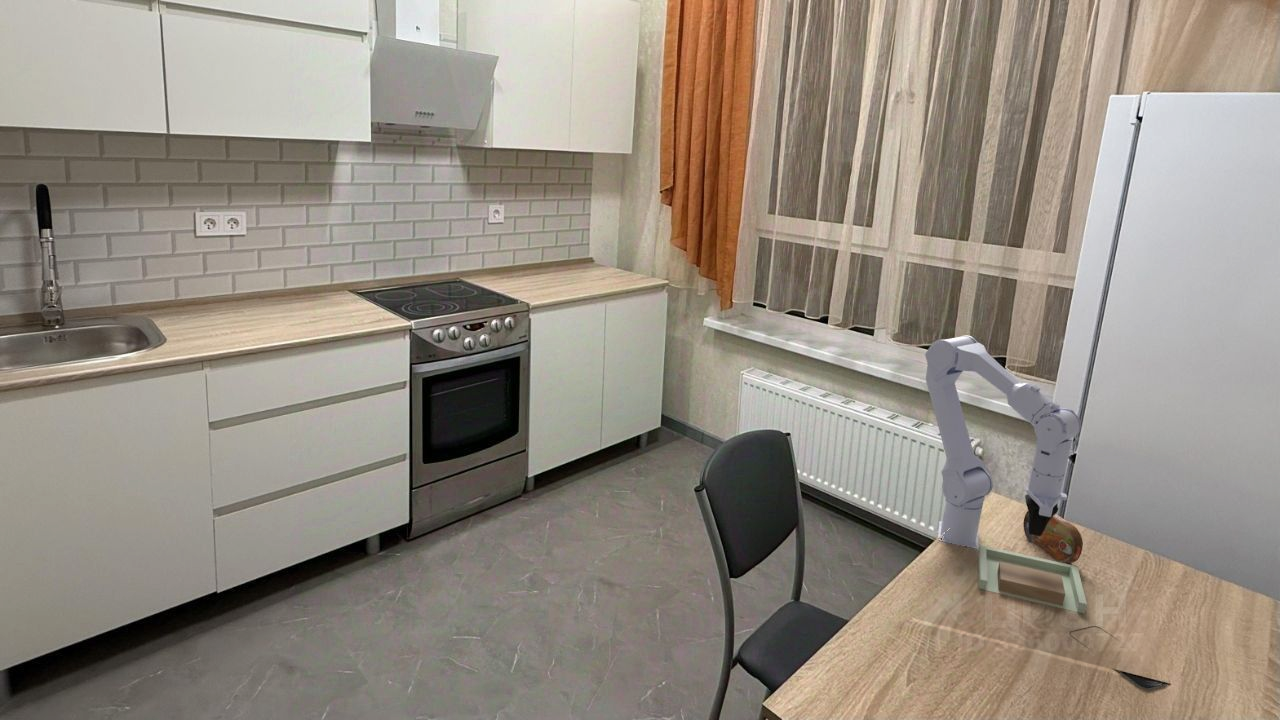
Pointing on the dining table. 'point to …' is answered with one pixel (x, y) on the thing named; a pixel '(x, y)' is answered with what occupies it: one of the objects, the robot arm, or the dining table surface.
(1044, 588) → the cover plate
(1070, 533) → the tin
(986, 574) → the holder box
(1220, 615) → the dining table surface
